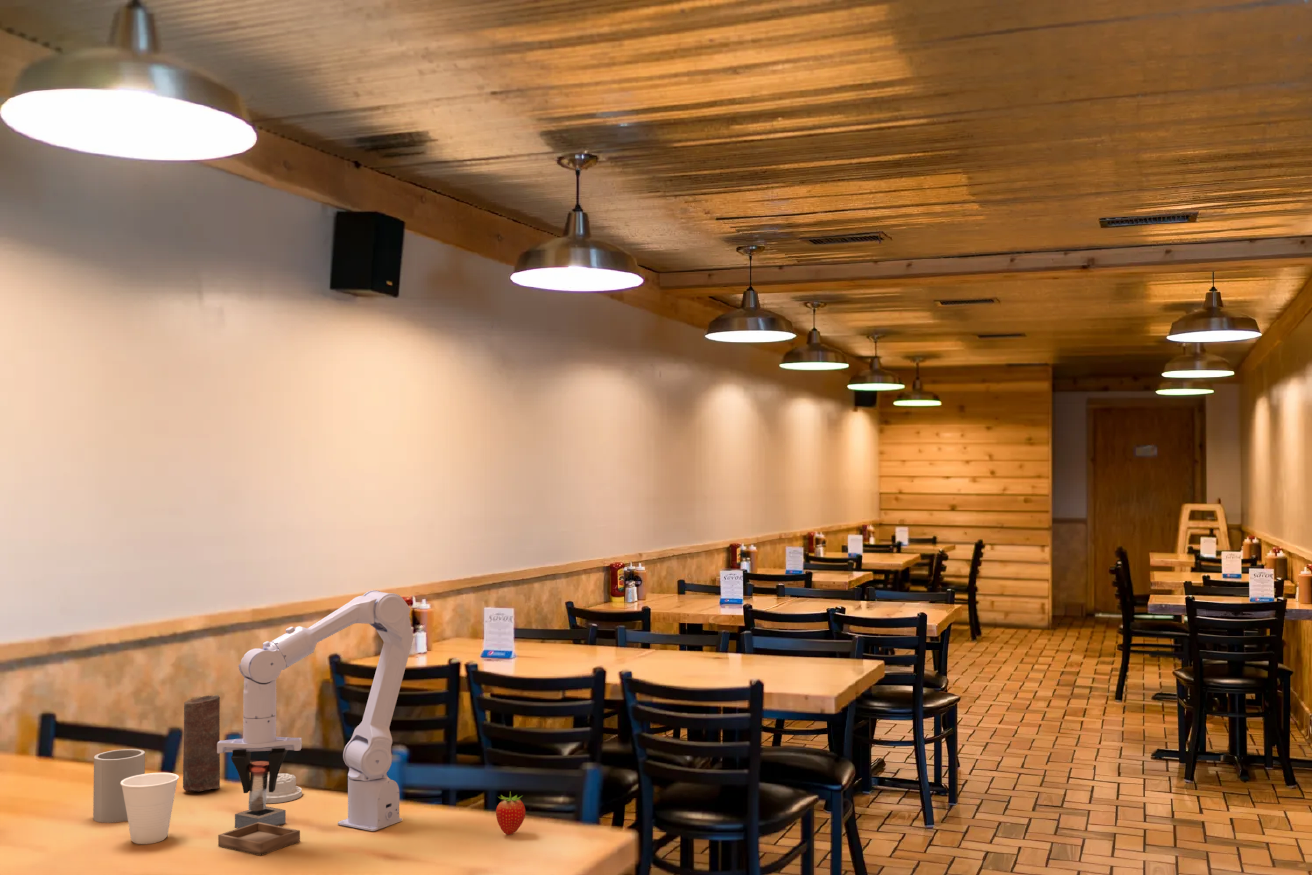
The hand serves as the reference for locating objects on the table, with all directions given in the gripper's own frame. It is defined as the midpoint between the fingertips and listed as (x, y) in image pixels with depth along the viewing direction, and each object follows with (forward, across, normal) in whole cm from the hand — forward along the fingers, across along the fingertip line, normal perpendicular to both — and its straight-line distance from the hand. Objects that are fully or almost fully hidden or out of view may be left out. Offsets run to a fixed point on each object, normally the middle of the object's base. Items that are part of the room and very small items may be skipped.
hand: (259, 791), depth 208 cm
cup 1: (+10, +32, -23) cm, 40 cm away
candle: (+10, +20, -39) cm, 45 cm away
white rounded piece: (+10, +3, -32) cm, 34 cm away
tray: (+9, 0, 0) cm, 9 cm away
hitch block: (+9, +2, -12) cm, 15 cm away
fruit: (+10, -45, +2) cm, 46 cm away
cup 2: (+10, +21, -6) cm, 24 cm away
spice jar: (+3, 0, -1) cm, 3 cm away
